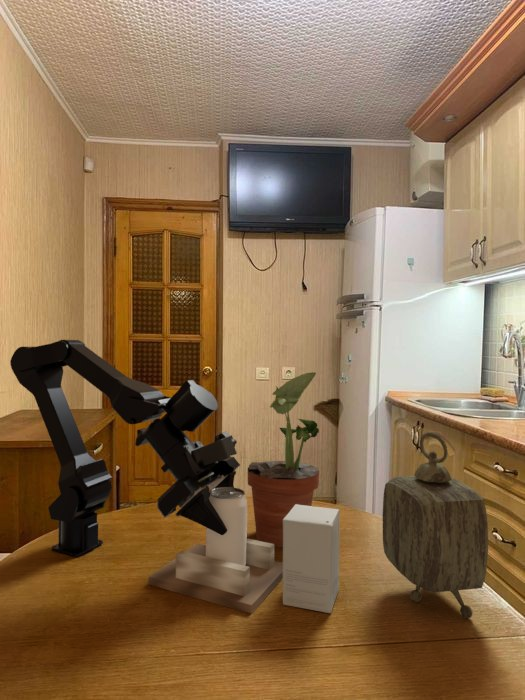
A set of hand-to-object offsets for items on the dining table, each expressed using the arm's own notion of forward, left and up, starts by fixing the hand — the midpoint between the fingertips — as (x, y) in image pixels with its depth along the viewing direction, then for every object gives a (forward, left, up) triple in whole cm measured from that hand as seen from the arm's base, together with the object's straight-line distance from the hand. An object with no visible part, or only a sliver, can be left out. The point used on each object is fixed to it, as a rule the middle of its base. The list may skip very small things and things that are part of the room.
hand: (234, 525), depth 76 cm
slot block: (-2, 0, -9) cm, 9 cm away
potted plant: (0, +21, -9) cm, 23 cm away
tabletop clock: (+29, +8, -9) cm, 31 cm away
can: (-1, 0, -7) cm, 7 cm away
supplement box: (+13, +1, -9) cm, 16 cm away
